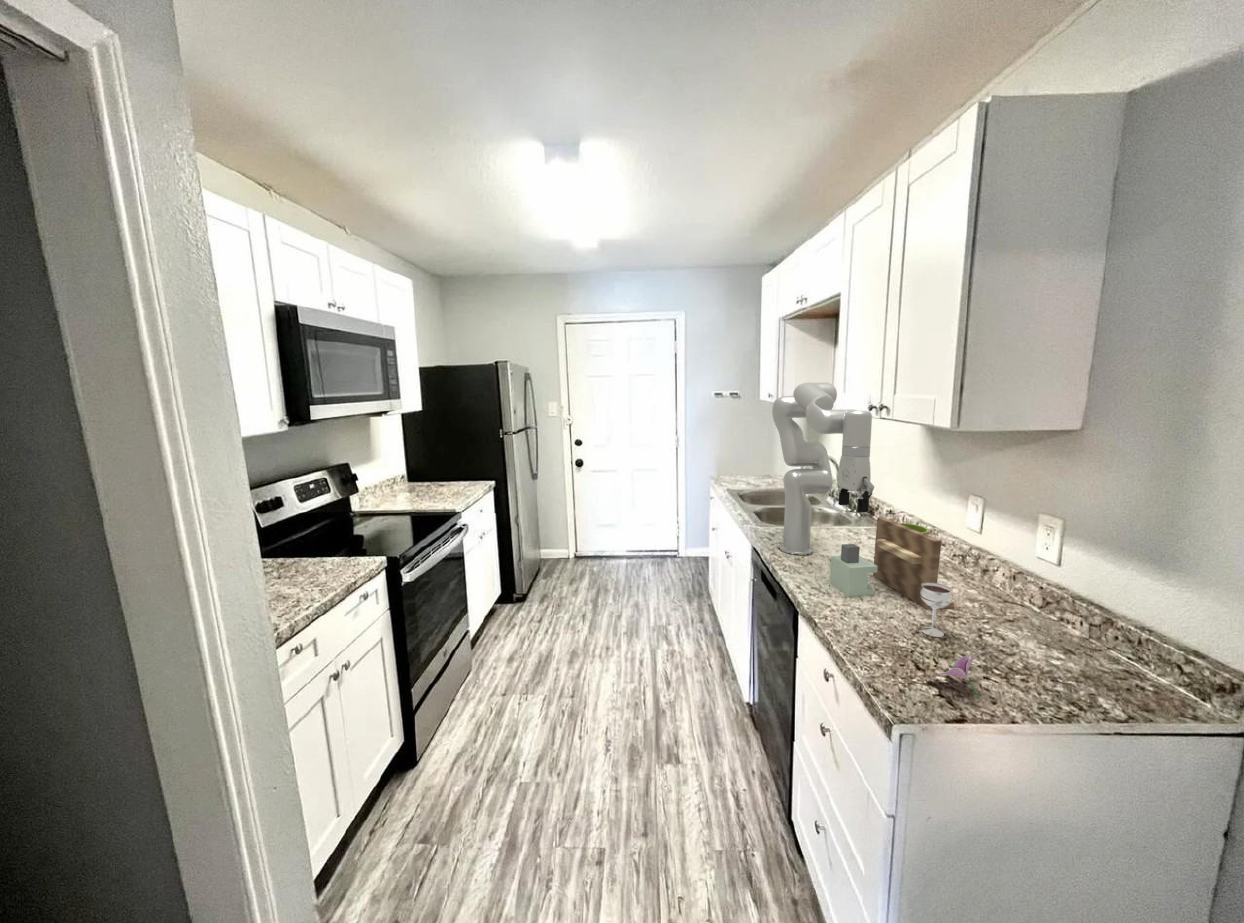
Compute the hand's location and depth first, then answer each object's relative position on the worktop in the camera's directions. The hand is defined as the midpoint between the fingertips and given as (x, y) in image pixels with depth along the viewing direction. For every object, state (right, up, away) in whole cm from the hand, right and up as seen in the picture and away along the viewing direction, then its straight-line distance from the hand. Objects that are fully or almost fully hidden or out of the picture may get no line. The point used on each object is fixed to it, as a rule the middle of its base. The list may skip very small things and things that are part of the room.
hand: (852, 508), depth 141 cm
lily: (0, -33, -44) cm, 55 cm away
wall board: (+17, -26, +2) cm, 31 cm away
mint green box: (+2, -25, +4) cm, 26 cm away
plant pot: (+34, -21, +30) cm, 50 cm away
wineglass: (+9, -30, -22) cm, 38 cm away
